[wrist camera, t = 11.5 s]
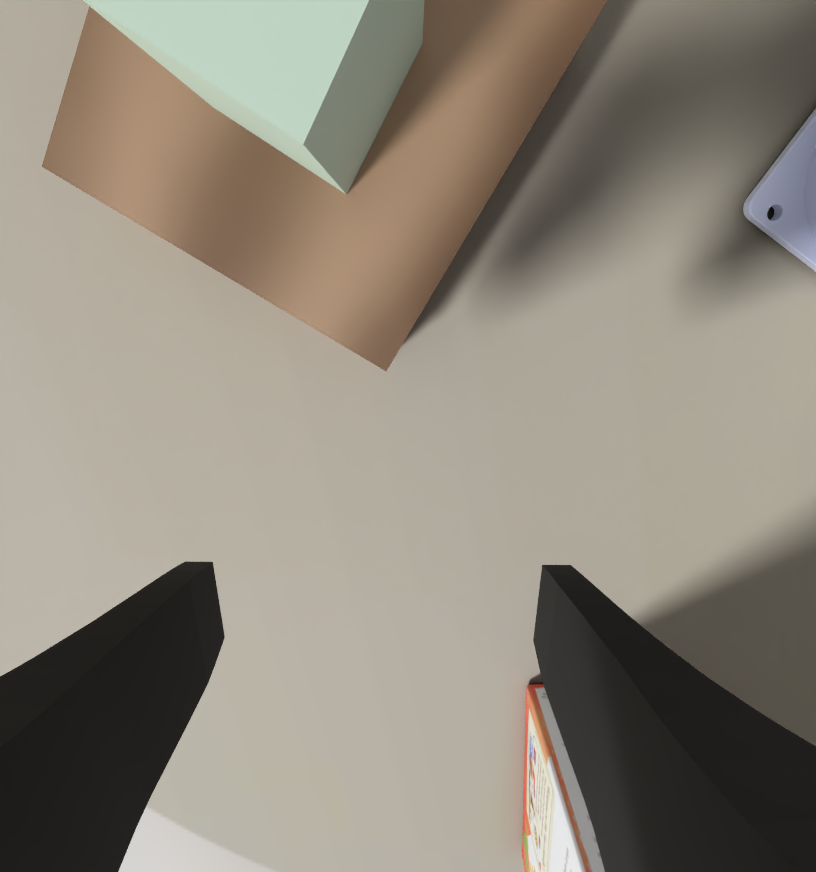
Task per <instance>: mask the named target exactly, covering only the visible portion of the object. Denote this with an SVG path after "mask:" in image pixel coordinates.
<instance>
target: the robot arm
mask: <svg viewBox="0 0 816 872" xmlns="http://www.w3.org/2000/svg"><path fill="white" fill-rule="evenodd" d="M770 207H773V209H774V216H773V218H772V219H771V220H769V219H768V217H767V212H768V210H769V208H770ZM743 212H744V215H745V217H746V218H747V219H748V220H749V221H751V222H752V223H753V224H754V225H756V226H757V227H758V228H760V229H761V230H762V231H764V232H765V233H766V234H767V235H769V236H770V237H771V238H773V239H774V240H775V241H776V242H778V243H779V244H780V245H782V246H783V247H784V248H786V249H787V250H788V251H789V252H791V253H792V254H793V255H795V256H796V257H797V258H799V259H800V260H801V261H802V262H804V263H805V264H806V265H808V266H809V267H810V268H811V269H813V270H814V271H815V272H816V109H815V110H814V111H813V112H812V114H811V115H810V116H809V118H808V119H807V120H806V122H805V123H804V124H803V126H802V127H801V128H800V129H799V131H798V132H797V133H796V135H795V136H794V137H793V139H792V140H791V141H790V143H789V144H788V145H787V146H786V148H785V149H784V150H783V152H782V153H781V154H780V156H779V157H778V158H777V160H776V161H775V162H774V163H773V165H772V166H771V167H770V169H769V170H768V171H767V173H766V174H765V175H764V177H763V178H762V179H761V180H760V182H759V183H758V184H757V186H756V187H755V188H754V190H753V191H752V192H751V194H750V195H749V196H748V197H747V199H746V201H745V203H744V207H743ZM223 640H224V630H223V624H222V618H221V612H220V605H219V599H218V593H217V586H216V580H215V574H214V568H213V562H184V563H182V564H180V565H179V566H177V567H175V568H173V569H172V570H170V571H169V572H167V573H166V574H164V575H162V576H161V577H159V578H158V579H156V580H155V581H153V582H152V583H150V584H149V585H147V586H146V587H144V588H143V589H141V590H140V591H138V592H137V593H135V594H134V595H132V596H131V597H129V598H128V599H126V600H125V601H123V602H122V603H120V604H119V605H117V606H116V607H114V608H113V609H111V610H109V611H108V612H106V613H105V614H103V615H102V616H100V617H99V618H97V619H96V620H94V621H93V622H91V623H90V624H88V625H86V626H85V627H83V628H81V629H80V630H78V631H77V632H75V633H73V634H72V635H70V636H68V637H67V638H65V639H63V640H62V641H60V642H59V643H57V644H55V645H54V646H52V647H50V648H49V649H47V650H46V651H44V652H42V653H41V654H39V655H37V656H36V657H34V658H32V659H31V660H29V661H27V662H25V663H24V664H22V665H20V666H18V667H17V668H15V669H13V670H11V671H10V672H8V673H6V674H4V675H2V676H1V677H0V872H118V871H119V868H120V866H121V863H122V861H123V858H124V856H125V853H126V851H127V849H128V846H129V844H130V841H131V839H132V836H133V834H134V832H135V829H136V827H137V824H138V822H139V820H140V818H141V816H142V814H143V812H144V809H145V807H146V805H147V803H148V801H149V799H150V797H151V795H152V793H153V791H154V789H155V787H156V785H157V783H158V781H159V779H160V777H161V775H162V773H163V771H164V769H165V767H166V765H167V763H168V761H169V759H170V757H171V756H172V754H173V752H174V750H175V748H176V746H177V744H178V742H179V740H180V738H181V736H182V734H183V732H184V730H185V728H186V726H187V724H188V722H189V720H190V718H191V716H192V714H193V712H194V710H195V708H196V706H197V704H198V702H199V700H200V698H201V696H202V694H203V692H204V690H205V688H206V686H207V684H208V682H209V679H210V676H211V674H212V671H213V669H214V666H215V663H216V660H217V658H218V655H219V652H220V649H221V646H222V643H223ZM534 645H535V650H536V654H537V659H538V663H539V668H540V672H541V676H542V680H543V684H544V688H545V691H546V694H547V697H548V700H549V703H550V705H551V708H552V711H553V714H554V717H555V720H556V723H557V725H558V728H559V731H560V734H561V737H562V739H563V742H564V745H565V748H566V751H567V753H568V756H569V759H570V762H571V765H572V767H573V770H574V773H575V776H576V779H577V781H578V784H579V787H580V790H581V793H582V795H583V798H584V801H585V804H586V807H587V810H588V814H589V817H590V820H591V823H592V826H593V829H594V833H595V836H596V840H597V844H598V848H599V852H600V855H601V859H602V863H603V867H604V870H605V872H816V746H814V745H812V744H811V743H809V742H807V741H805V740H804V739H802V738H800V737H799V736H797V735H795V734H794V733H792V732H790V731H789V730H787V729H785V728H784V727H782V726H780V725H779V724H777V723H776V722H774V721H772V720H771V719H769V718H768V717H766V716H764V715H763V714H761V713H760V712H758V711H757V710H755V709H754V708H752V707H751V706H749V705H748V704H746V703H745V702H743V701H742V700H740V699H739V698H737V697H736V696H734V695H733V694H731V693H730V692H728V691H727V690H725V689H724V688H722V687H721V686H719V685H718V684H716V683H715V682H713V681H712V680H711V679H709V678H708V677H706V676H705V675H704V674H702V673H701V672H699V671H698V670H697V669H695V668H694V667H693V666H691V665H690V664H689V663H687V662H686V661H685V660H684V659H682V658H681V657H680V656H678V655H677V654H676V653H674V652H673V651H672V650H670V649H669V648H668V647H666V646H665V645H664V644H663V643H661V642H660V641H659V640H658V639H656V638H655V637H654V636H653V635H651V634H650V633H649V632H648V631H646V630H645V629H644V628H643V627H642V626H640V625H639V624H638V623H637V622H636V621H634V620H633V619H632V618H631V617H630V616H629V615H627V614H626V613H625V612H624V611H623V610H622V609H620V608H619V607H618V606H617V605H616V604H615V603H613V602H612V601H611V600H610V599H609V598H608V597H607V596H605V595H604V594H603V593H602V592H601V591H600V590H599V589H598V588H596V587H595V586H594V585H593V584H592V583H591V582H590V581H588V580H587V579H586V578H585V577H584V576H583V575H582V574H580V573H579V572H578V571H577V570H576V569H575V568H573V567H572V566H571V565H542V572H541V581H540V589H539V598H538V606H537V615H536V623H535V632H534Z"/></svg>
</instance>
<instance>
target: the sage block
mask: <svg viewBox="0 0 816 872" xmlns="http://www.w3.org/2000/svg"><path fill="white" fill-rule="evenodd" d="M83 1H84V2H85V3H86V4H88V5H89V6H90V7H91V8H92V9H94V10H95V11H96V12H97V13H99V14H100V15H101V16H102V17H103V18H105V19H106V20H107V21H108V22H110V23H111V24H112V25H113V26H114V27H116V28H117V29H118V30H119V31H121V32H122V33H123V34H124V35H125V36H127V37H128V38H129V39H130V40H132V41H133V42H134V43H135V44H136V45H138V46H139V47H140V48H141V49H143V50H144V51H145V52H146V53H147V54H149V55H150V56H151V57H152V58H154V59H155V60H156V61H157V62H158V63H160V64H161V65H162V66H163V67H165V68H166V69H167V70H168V71H169V72H171V73H172V74H173V75H174V76H176V77H177V78H178V79H179V80H180V81H182V82H183V83H184V84H185V85H187V86H188V87H189V88H190V89H191V90H193V91H194V92H195V93H196V94H198V95H199V96H200V97H201V98H202V99H204V100H205V101H206V102H207V103H208V104H210V105H211V106H212V107H213V108H215V109H217V110H218V111H220V112H221V113H223V114H224V115H226V116H227V117H229V118H230V119H232V120H233V121H235V122H236V123H238V124H239V125H241V126H242V127H244V128H246V129H247V130H249V131H250V132H252V133H253V134H255V135H256V136H258V137H259V138H261V139H262V140H264V141H265V142H267V143H268V144H270V145H271V146H273V147H275V148H276V149H278V150H279V151H281V152H282V153H284V154H285V155H287V156H288V157H290V158H291V159H293V160H294V161H296V162H297V163H299V164H300V165H302V166H304V167H305V168H307V169H308V170H310V171H311V172H313V173H314V174H316V175H317V176H319V177H320V178H322V179H323V180H325V181H326V182H328V183H330V184H331V185H333V186H334V187H336V188H337V189H339V190H340V191H342V192H343V193H345V194H346V195H347V193H348V191H349V189H350V187H351V185H352V183H353V181H354V179H355V177H356V175H357V173H358V171H359V169H360V167H361V165H362V163H363V161H364V159H365V157H366V155H367V153H368V151H369V149H370V147H371V145H372V143H373V141H374V139H375V137H376V135H377V133H378V131H379V129H380V127H381V125H382V123H383V121H384V119H385V117H386V115H387V113H388V111H389V109H390V107H391V105H392V103H393V101H394V99H395V97H396V95H397V93H398V91H399V89H400V87H401V85H402V83H403V81H404V79H405V77H406V75H407V73H408V71H409V69H410V67H411V65H412V63H413V61H414V59H415V57H416V55H417V53H418V51H419V49H420V47H421V45H422V43H423V21H424V0H83Z"/></svg>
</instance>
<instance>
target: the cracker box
mask: <svg viewBox="0 0 816 872" xmlns="http://www.w3.org/2000/svg"><path fill="white" fill-rule="evenodd" d="M522 857H523V863H524V869H525V872H605V870H604V867H603V863H602V859H601V855H600V852H599V848H598V844H597V840H596V836H595V833H594V829H593V826H592V823H591V820H590V817H589V814H588V810H587V807H586V804H585V801H584V798H583V795H582V793H581V790H580V787H579V784H578V781H577V779H576V776H575V773H574V770H573V767H572V765H571V762H570V759H569V756H568V753H567V751H566V748H565V745H564V742H563V739H562V737H561V734H560V731H559V728H558V725H557V723H556V720H555V717H554V714H553V711H552V708H551V705H550V703H549V700H548V697H547V694H546V691H545V688H544V684H534V685H528V686H527V690H526V722H525V767H524V799H523V843H522Z"/></svg>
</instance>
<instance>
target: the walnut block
mask: <svg viewBox="0 0 816 872" xmlns="http://www.w3.org/2000/svg"><path fill="white" fill-rule="evenodd" d="M606 2H607V0H424V21H423V43H422V45H421V47H420V49H419V51H418V53H417V55H416V57H415V59H414V61H413V63H412V65H411V67H410V69H409V71H408V73H407V75H406V77H405V79H404V81H403V83H402V85H401V87H400V89H399V91H398V93H397V95H396V97H395V99H394V101H393V103H392V105H391V107H390V109H389V111H388V113H387V115H386V117H385V119H384V121H383V123H382V125H381V127H380V129H379V131H378V133H377V135H376V137H375V139H374V141H373V143H372V145H371V147H370V149H369V151H368V153H367V155H366V157H365V159H364V161H363V163H362V165H361V167H360V169H359V171H358V173H357V175H356V177H355V179H354V181H353V183H352V185H351V187H350V189H349V191H348V193H347V195H346V194H345V193H343V192H342V191H340V190H339V189H337V188H336V187H334V186H333V185H331V184H330V183H328V182H326V181H325V180H323V179H322V178H320V177H319V176H317V175H316V174H314V173H313V172H311V171H310V170H308V169H307V168H305V167H304V166H302V165H300V164H299V163H297V162H296V161H294V160H293V159H291V158H290V157H288V156H287V155H285V154H284V153H282V152H281V151H279V150H278V149H276V148H275V147H273V146H271V145H270V144H268V143H267V142H265V141H264V140H262V139H261V138H259V137H258V136H256V135H255V134H253V133H252V132H250V131H249V130H247V129H246V128H244V127H242V126H241V125H239V124H238V123H236V122H235V121H233V120H232V119H230V118H229V117H227V116H226V115H224V114H223V113H221V112H220V111H218V110H217V109H215V108H213V107H212V106H211V105H210V104H208V103H207V102H206V101H205V100H204V99H202V98H201V97H200V96H199V95H198V94H196V93H195V92H194V91H193V90H191V89H190V88H189V87H188V86H187V85H185V84H184V83H183V82H182V81H180V80H179V79H178V78H177V77H176V76H174V75H173V74H172V73H171V72H169V71H168V70H167V69H166V68H165V67H163V66H162V65H161V64H160V63H158V62H157V61H156V60H155V59H154V58H152V57H151V56H150V55H149V54H147V53H146V52H145V51H144V50H143V49H141V48H140V47H139V46H138V45H136V44H135V43H134V42H133V41H132V40H130V39H129V38H128V37H127V36H125V35H124V34H123V33H122V32H121V31H119V30H118V29H117V28H116V27H114V26H113V25H112V24H111V23H110V22H108V21H107V20H106V19H105V18H103V17H102V16H101V15H100V14H99V13H97V12H96V11H95V10H94V9H92V8H91V7H89V10H88V13H87V17H86V20H85V23H84V27H83V30H82V33H81V37H80V40H79V44H78V47H77V50H76V54H75V57H74V60H73V64H72V67H71V70H70V74H69V77H68V80H67V84H66V87H65V91H64V94H63V97H62V101H61V104H60V107H59V111H58V114H57V117H56V121H55V124H54V127H53V131H52V134H51V138H50V141H49V144H48V148H47V151H46V154H45V158H44V161H43V164H42V167H44V168H45V169H47V170H49V171H50V172H52V173H54V174H55V175H57V176H59V177H60V178H62V179H64V180H65V181H67V182H69V183H70V184H72V185H74V186H76V187H77V188H79V189H81V190H82V191H84V192H86V193H87V194H89V195H91V196H92V197H94V198H96V199H97V200H99V201H101V202H102V203H104V204H106V205H107V206H109V207H111V208H113V209H114V210H116V211H118V212H119V213H121V214H123V215H124V216H126V217H128V218H129V219H131V220H133V221H134V222H136V223H138V224H139V225H141V226H143V227H144V228H146V229H148V230H150V231H151V232H153V233H155V234H156V235H158V236H160V237H161V238H163V239H165V240H166V241H168V242H170V243H171V244H173V245H175V246H176V247H178V248H180V249H181V250H183V251H185V252H186V253H188V254H190V255H192V256H193V257H195V258H197V259H198V260H200V261H202V262H203V263H205V264H207V265H208V266H210V267H212V268H213V269H215V270H217V271H218V272H220V273H222V274H223V275H225V276H227V277H229V278H230V279H232V280H234V281H235V282H237V283H239V284H240V285H242V286H244V287H245V288H247V289H249V290H250V291H252V292H254V293H255V294H257V295H259V296H260V297H262V298H264V299H266V300H267V301H269V302H271V303H272V304H274V305H276V306H277V307H279V308H281V309H282V310H284V311H286V312H287V313H289V314H291V315H292V316H294V317H296V318H297V319H299V320H301V321H303V322H304V323H306V324H308V325H309V326H311V327H313V328H314V329H316V330H318V331H319V332H321V333H323V334H324V335H326V336H328V337H329V338H331V339H333V340H334V341H336V342H338V343H340V344H341V345H343V346H345V347H346V348H348V349H350V350H351V351H353V352H355V353H356V354H358V355H360V356H361V357H363V358H365V359H366V360H368V361H370V362H371V363H373V364H375V365H377V366H378V367H380V368H382V369H383V370H385V371H387V369H388V367H389V366H390V364H391V362H392V361H393V359H394V357H395V356H396V354H397V352H398V351H399V349H400V347H401V346H402V344H403V342H404V340H405V339H406V337H407V335H408V334H409V332H410V330H411V329H412V327H413V325H414V324H415V322H416V320H417V319H418V317H419V315H420V314H421V312H422V310H423V309H424V307H425V305H426V304H427V302H428V300H429V299H430V297H431V295H432V294H433V292H434V290H435V289H436V287H437V285H438V283H439V282H440V280H441V278H442V277H443V275H444V273H445V272H446V270H447V268H448V267H449V265H450V263H451V262H452V260H453V258H454V257H455V255H456V253H457V252H458V250H459V248H460V247H461V245H462V243H463V242H464V240H465V238H466V237H467V235H468V233H469V231H470V230H471V228H472V226H473V225H474V223H475V221H476V220H477V218H478V216H479V215H480V213H481V211H482V210H483V208H484V206H485V205H486V203H487V201H488V200H489V198H490V196H491V195H492V193H493V191H494V190H495V188H496V186H497V185H498V183H499V181H500V180H501V178H502V176H503V174H504V173H505V171H506V169H507V168H508V166H509V164H510V163H511V161H512V159H513V158H514V156H515V154H516V153H517V151H518V149H519V148H520V146H521V144H522V143H523V141H524V139H525V138H526V136H527V134H528V133H529V131H530V129H531V128H532V126H533V124H534V122H535V121H536V119H537V117H538V116H539V114H540V112H541V111H542V109H543V107H544V106H545V104H546V102H547V101H548V99H549V97H550V96H551V94H552V92H553V91H554V89H555V87H556V86H557V84H558V82H559V81H560V79H561V77H562V76H563V74H564V72H565V70H566V69H567V67H568V65H569V64H570V62H571V60H572V59H573V57H574V55H575V54H576V52H577V50H578V49H579V47H580V45H581V44H582V42H583V40H584V39H585V37H586V35H587V34H588V32H589V30H590V29H591V27H592V25H593V24H594V22H595V20H596V19H597V17H598V15H599V13H600V12H601V10H602V8H603V7H604V5H605V3H606Z"/></svg>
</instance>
